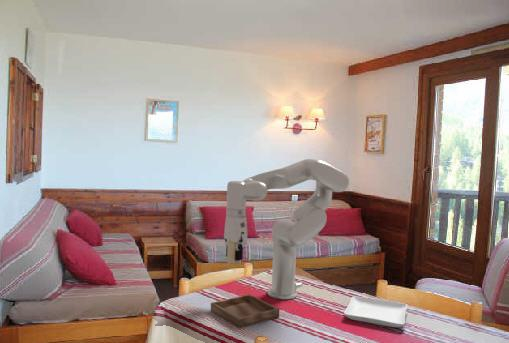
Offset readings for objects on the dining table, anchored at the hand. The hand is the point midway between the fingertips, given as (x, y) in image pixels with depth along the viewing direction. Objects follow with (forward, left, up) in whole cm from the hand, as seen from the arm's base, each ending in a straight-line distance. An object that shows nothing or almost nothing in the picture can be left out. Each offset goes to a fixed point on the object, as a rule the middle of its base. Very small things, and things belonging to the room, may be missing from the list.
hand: (234, 257), depth 177 cm
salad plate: (-37, +41, -18) cm, 58 cm away
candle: (0, 0, -2) cm, 2 cm away
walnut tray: (+4, +13, -17) cm, 22 cm away
